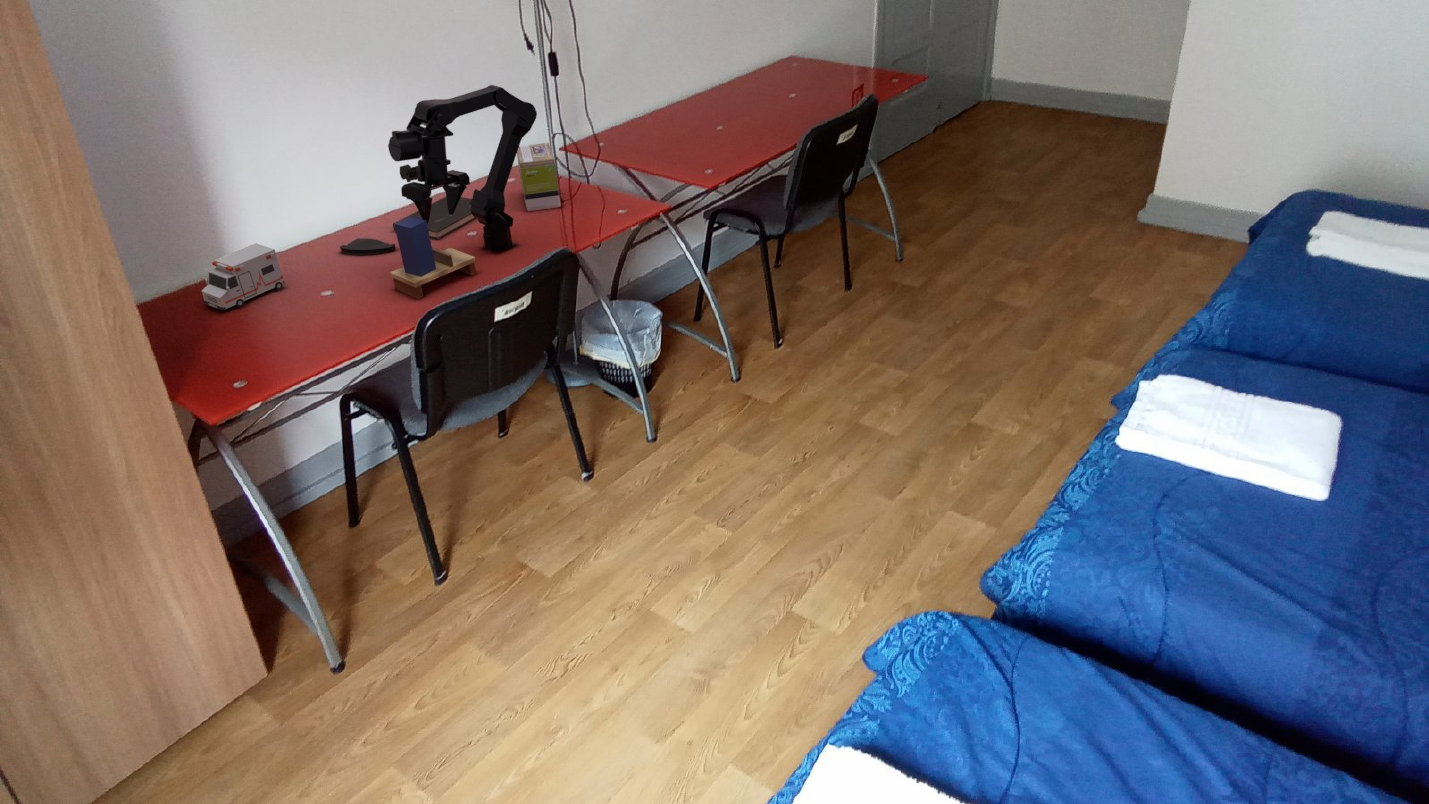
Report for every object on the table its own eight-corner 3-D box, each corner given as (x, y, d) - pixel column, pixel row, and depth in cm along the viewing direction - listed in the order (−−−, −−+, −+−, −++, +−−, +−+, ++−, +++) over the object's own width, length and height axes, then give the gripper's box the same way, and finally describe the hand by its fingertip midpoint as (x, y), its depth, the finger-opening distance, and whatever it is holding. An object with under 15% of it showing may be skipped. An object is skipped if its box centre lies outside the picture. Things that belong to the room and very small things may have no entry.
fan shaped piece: (382, 258, 257) (381, 253, 256) (339, 253, 261) (338, 247, 260) (401, 246, 264) (400, 240, 263) (358, 240, 268) (357, 235, 267)
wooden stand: (453, 263, 253) (448, 236, 249) (478, 273, 247) (473, 245, 243) (393, 289, 241) (387, 260, 237) (418, 300, 236) (412, 271, 232)
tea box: (522, 194, 293) (515, 145, 285) (556, 190, 295) (549, 141, 287) (526, 212, 281) (519, 161, 273) (561, 207, 283) (555, 157, 275)
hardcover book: (491, 209, 283) (490, 202, 282) (438, 239, 266) (437, 231, 265) (448, 202, 290) (447, 194, 289) (393, 230, 273) (391, 222, 272)
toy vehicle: (203, 306, 237) (189, 267, 232) (265, 278, 249) (254, 242, 244) (226, 315, 233) (213, 276, 227) (289, 287, 244) (278, 249, 239)
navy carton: (420, 264, 242) (409, 216, 235) (436, 269, 240) (426, 220, 233) (405, 272, 238) (394, 223, 232) (421, 277, 236) (410, 228, 229)
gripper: (433, 143, 248) (438, 204, 255) (380, 157, 233) (386, 222, 240) (469, 150, 244) (472, 212, 251) (417, 165, 229) (423, 230, 236)
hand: (438, 218), depth 245 cm, fingers open, 9 cm apart
